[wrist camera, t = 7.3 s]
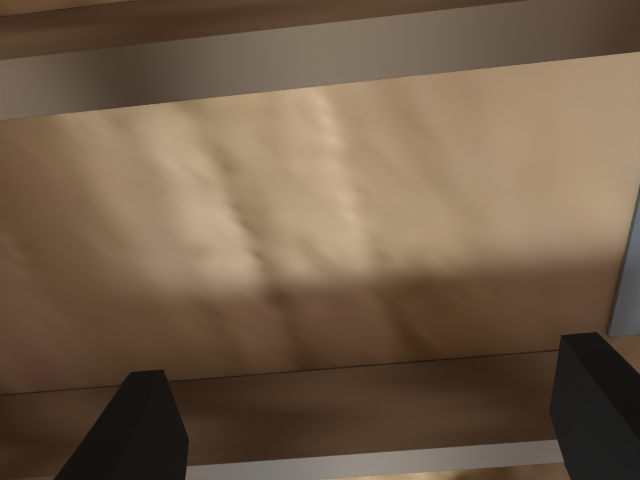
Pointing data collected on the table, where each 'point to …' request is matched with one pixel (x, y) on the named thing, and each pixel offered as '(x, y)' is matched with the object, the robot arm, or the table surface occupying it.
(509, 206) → the table surface
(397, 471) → the walnut tray
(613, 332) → the slate coaster
